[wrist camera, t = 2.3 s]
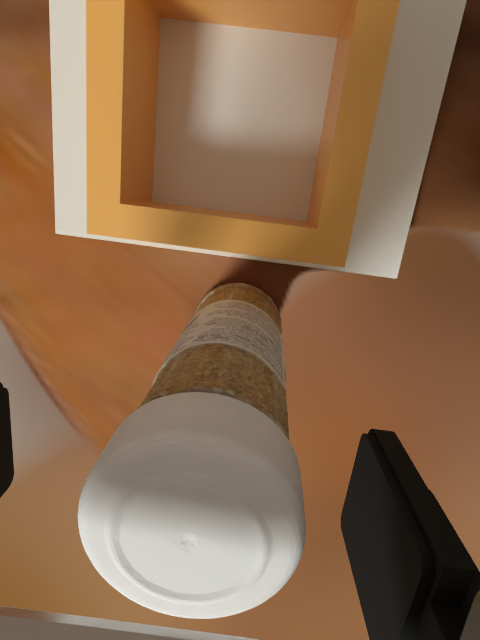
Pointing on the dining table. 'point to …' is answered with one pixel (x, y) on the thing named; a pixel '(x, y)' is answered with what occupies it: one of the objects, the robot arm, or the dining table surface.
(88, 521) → the sprinkles bottle
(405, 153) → the socket base
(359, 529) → the robot arm
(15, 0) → the dining table surface
